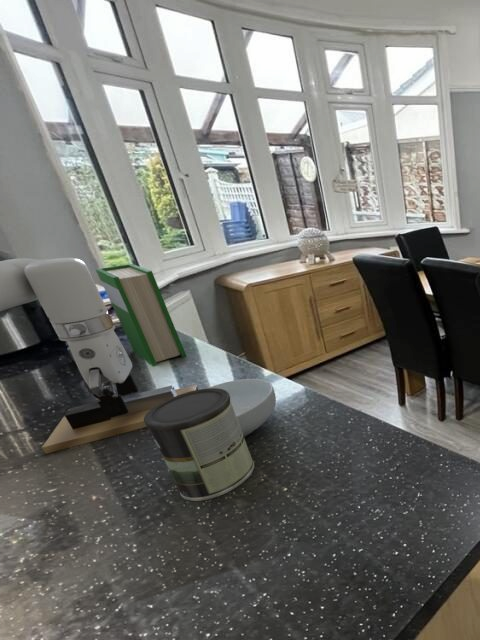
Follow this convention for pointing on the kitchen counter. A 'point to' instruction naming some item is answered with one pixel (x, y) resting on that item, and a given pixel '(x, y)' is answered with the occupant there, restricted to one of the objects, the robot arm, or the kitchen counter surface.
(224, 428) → the coffee can
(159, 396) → the grey bar black end
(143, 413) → the cutting board
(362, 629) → the kitchen counter surface
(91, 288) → the robot arm
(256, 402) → the cereal bowl
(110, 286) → the hardback book
